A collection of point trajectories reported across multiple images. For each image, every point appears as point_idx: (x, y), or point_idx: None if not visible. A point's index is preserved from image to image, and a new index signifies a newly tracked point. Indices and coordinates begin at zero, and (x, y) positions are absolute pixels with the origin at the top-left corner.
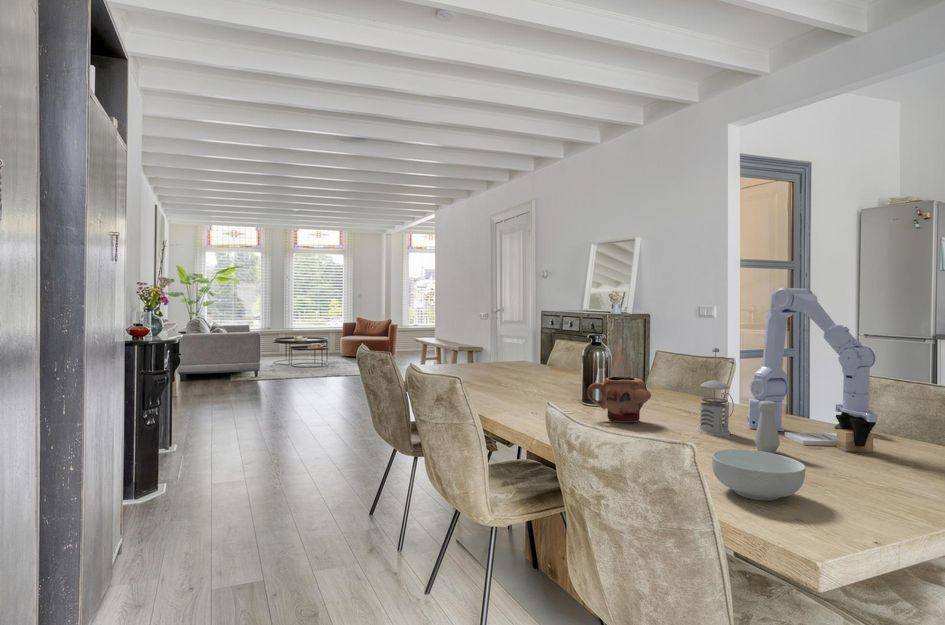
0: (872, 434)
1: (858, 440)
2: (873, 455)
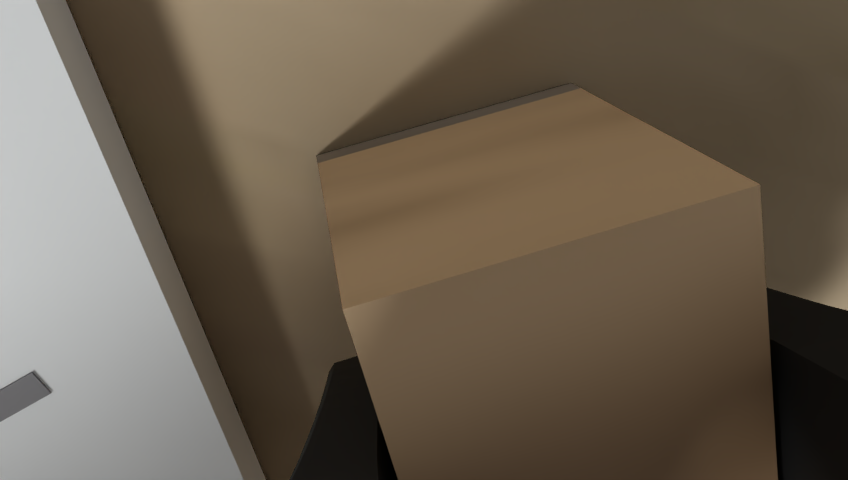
0: (738, 195)
1: None
2: (757, 135)
